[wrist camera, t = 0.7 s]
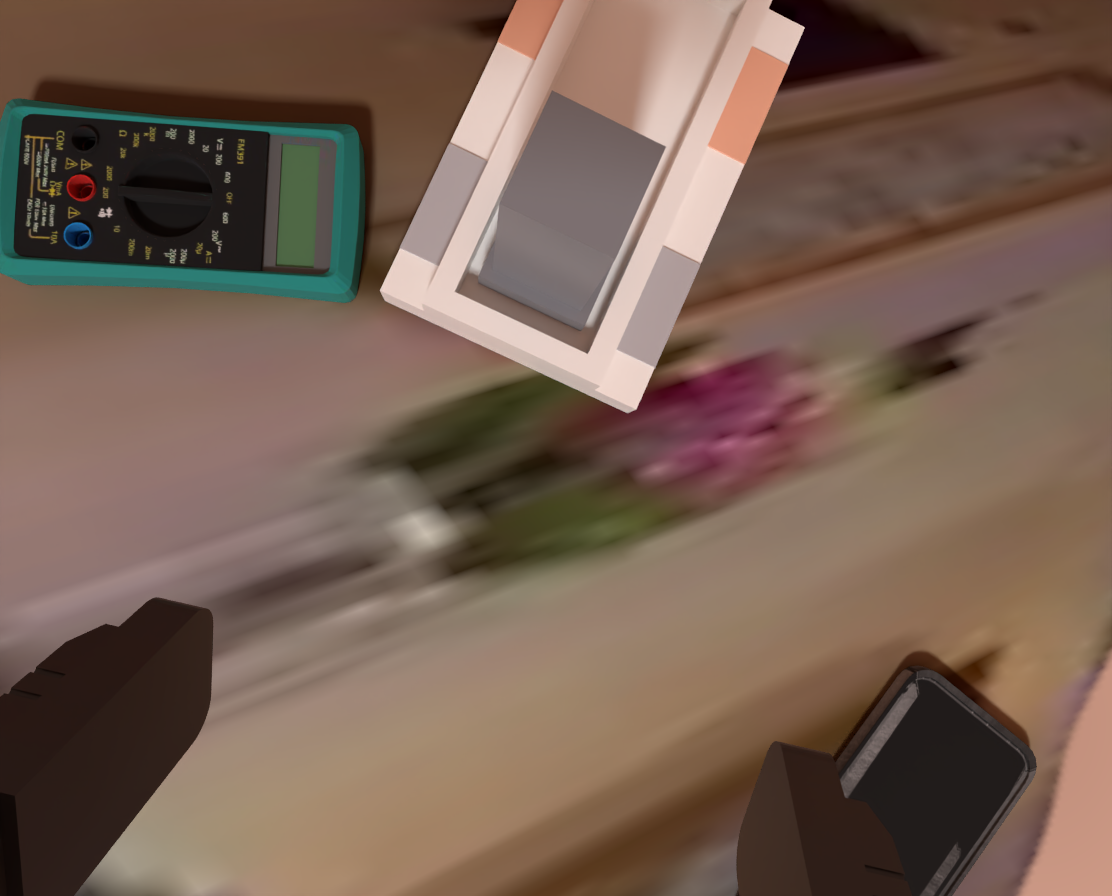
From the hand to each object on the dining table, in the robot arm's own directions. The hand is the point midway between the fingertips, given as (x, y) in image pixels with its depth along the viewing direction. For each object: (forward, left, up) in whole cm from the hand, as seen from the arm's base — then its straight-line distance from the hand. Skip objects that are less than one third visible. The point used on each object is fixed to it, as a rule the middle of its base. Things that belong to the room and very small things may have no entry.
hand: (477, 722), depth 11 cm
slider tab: (-2, +13, -22) cm, 26 cm away
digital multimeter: (-17, +9, -25) cm, 32 cm away
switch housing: (-2, +18, -25) cm, 31 cm away
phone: (+23, -4, -25) cm, 34 cm away
